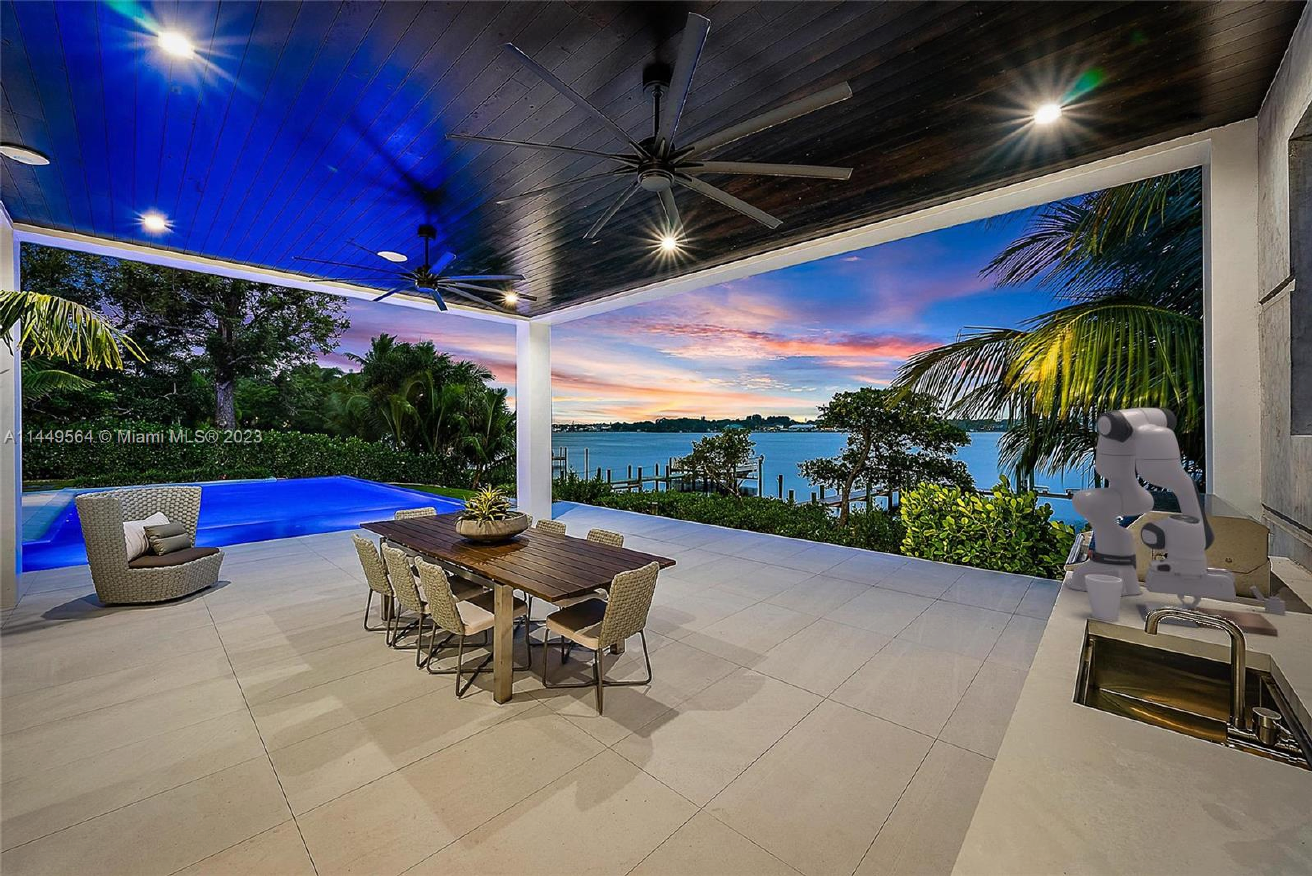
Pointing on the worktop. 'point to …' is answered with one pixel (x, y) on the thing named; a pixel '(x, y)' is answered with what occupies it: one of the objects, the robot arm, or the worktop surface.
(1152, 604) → the tile
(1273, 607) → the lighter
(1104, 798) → the worktop surface
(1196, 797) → the worktop surface
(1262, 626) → the plate
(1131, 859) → the worktop surface
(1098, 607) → the foam cup
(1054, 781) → the worktop surface
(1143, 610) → the mat
